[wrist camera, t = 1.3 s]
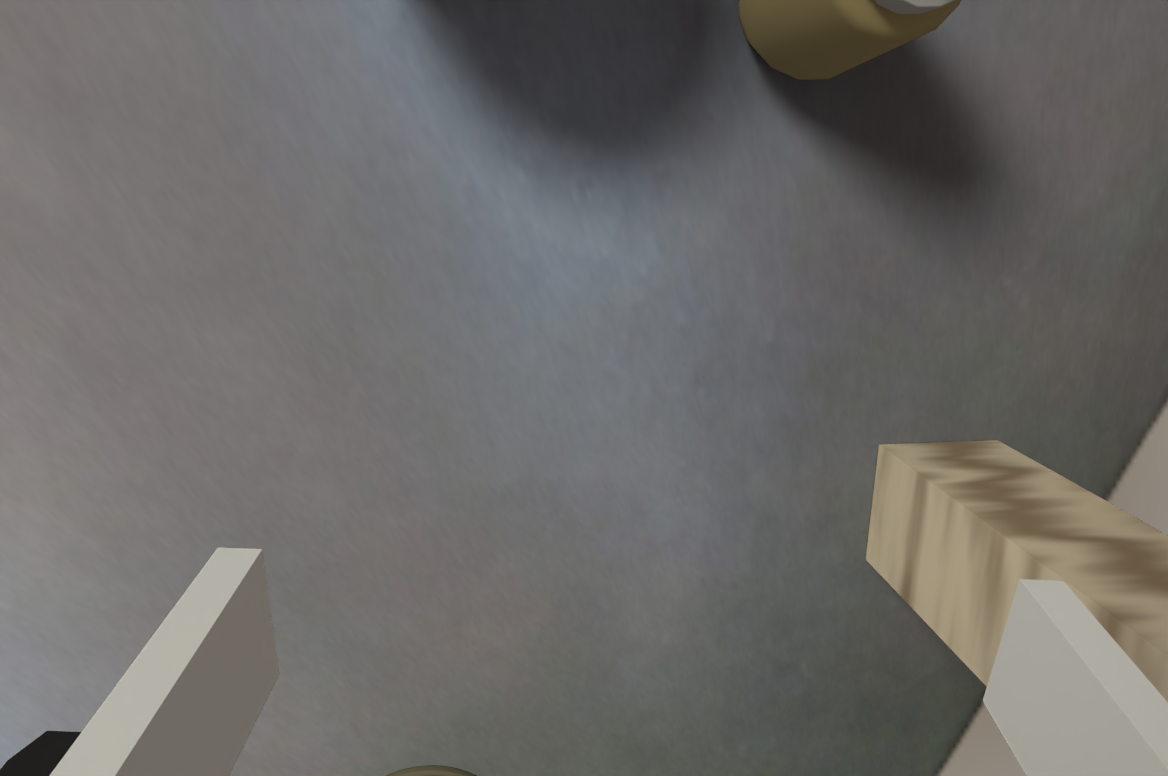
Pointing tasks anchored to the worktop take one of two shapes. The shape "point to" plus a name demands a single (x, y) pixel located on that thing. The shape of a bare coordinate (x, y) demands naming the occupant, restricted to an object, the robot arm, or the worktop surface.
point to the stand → (1012, 549)
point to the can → (431, 771)
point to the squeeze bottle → (834, 31)
